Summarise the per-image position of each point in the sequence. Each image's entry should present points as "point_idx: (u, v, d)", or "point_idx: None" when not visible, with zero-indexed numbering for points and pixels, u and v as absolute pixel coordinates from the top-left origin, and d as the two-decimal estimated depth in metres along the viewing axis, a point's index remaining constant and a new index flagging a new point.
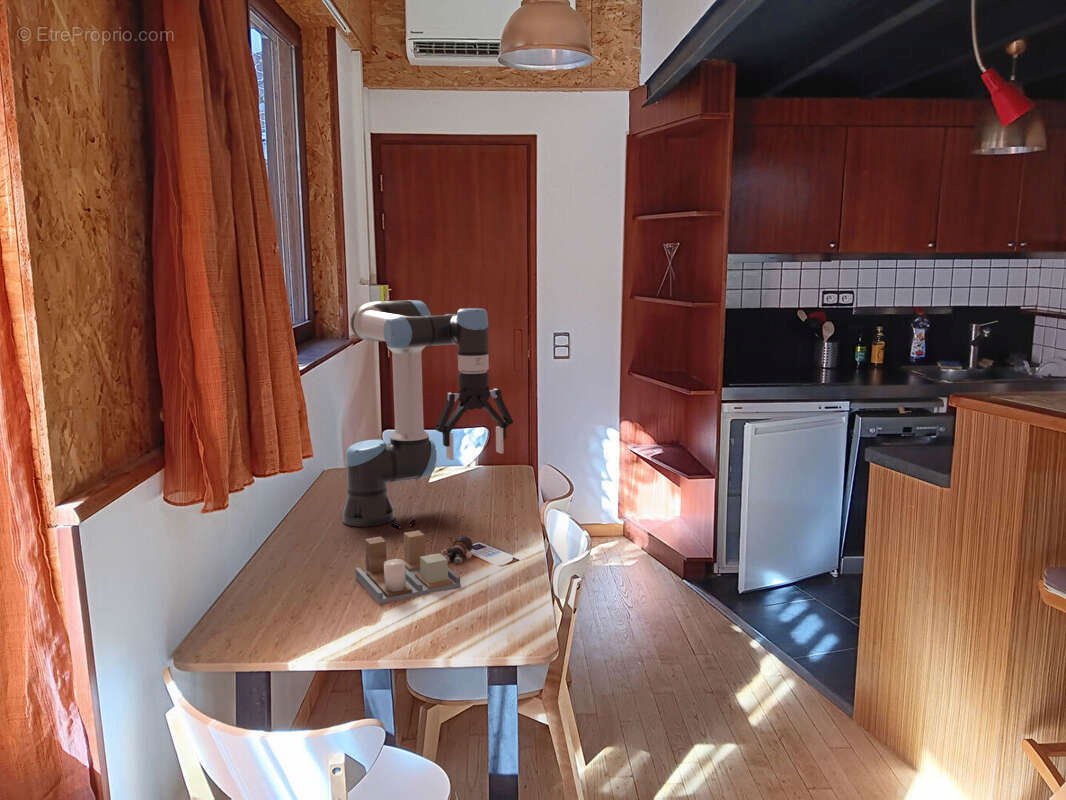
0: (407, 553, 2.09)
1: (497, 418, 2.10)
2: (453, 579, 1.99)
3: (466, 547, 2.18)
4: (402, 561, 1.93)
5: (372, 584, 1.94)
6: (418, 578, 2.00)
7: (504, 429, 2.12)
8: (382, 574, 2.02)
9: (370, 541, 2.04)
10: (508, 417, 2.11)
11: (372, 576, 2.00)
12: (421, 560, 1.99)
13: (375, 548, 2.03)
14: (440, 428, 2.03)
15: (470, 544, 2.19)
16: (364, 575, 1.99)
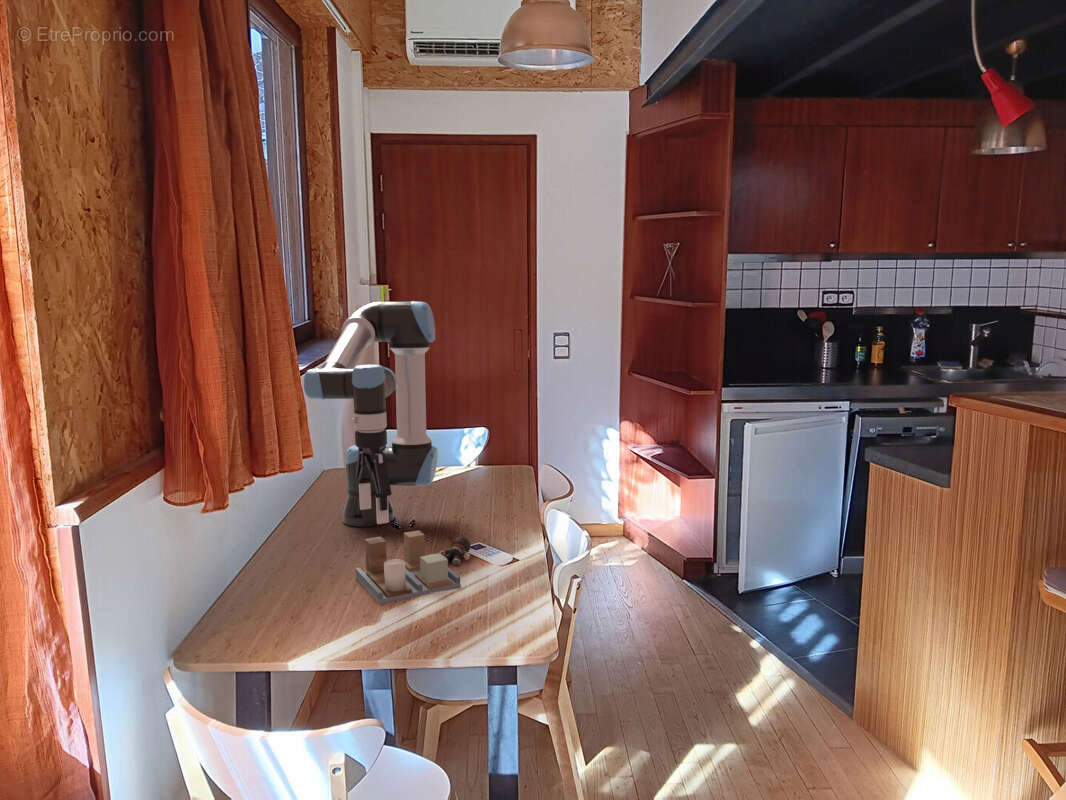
0: (407, 553, 2.09)
1: (375, 485, 1.96)
2: (453, 579, 1.99)
3: (464, 548, 2.17)
4: (402, 561, 1.93)
5: (372, 584, 1.94)
6: (418, 578, 2.00)
7: (380, 499, 1.95)
8: (382, 574, 2.02)
9: (370, 541, 2.04)
10: (379, 488, 1.94)
11: (372, 576, 2.00)
12: (421, 560, 1.99)
13: (375, 548, 2.03)
14: (356, 475, 2.10)
15: (468, 545, 2.18)
16: (364, 575, 1.99)
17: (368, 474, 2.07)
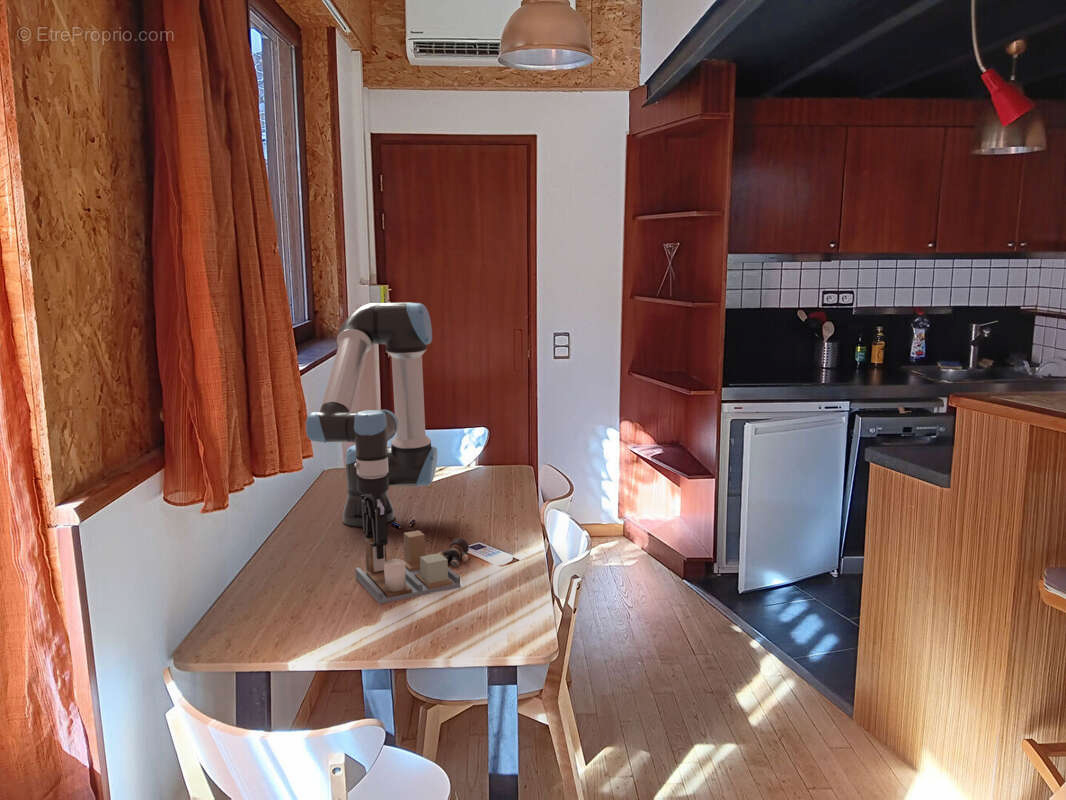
0: (407, 553, 2.09)
1: (373, 532, 2.01)
2: (453, 579, 1.99)
3: (462, 550, 2.16)
4: (402, 561, 1.93)
5: (372, 584, 1.94)
6: (418, 578, 2.00)
7: (377, 548, 2.01)
8: (382, 574, 2.02)
9: (370, 541, 2.04)
10: (376, 538, 1.99)
11: (372, 576, 2.00)
12: (421, 560, 1.99)
13: None
14: (363, 530, 2.08)
15: (466, 546, 2.17)
16: (364, 575, 1.99)
17: None
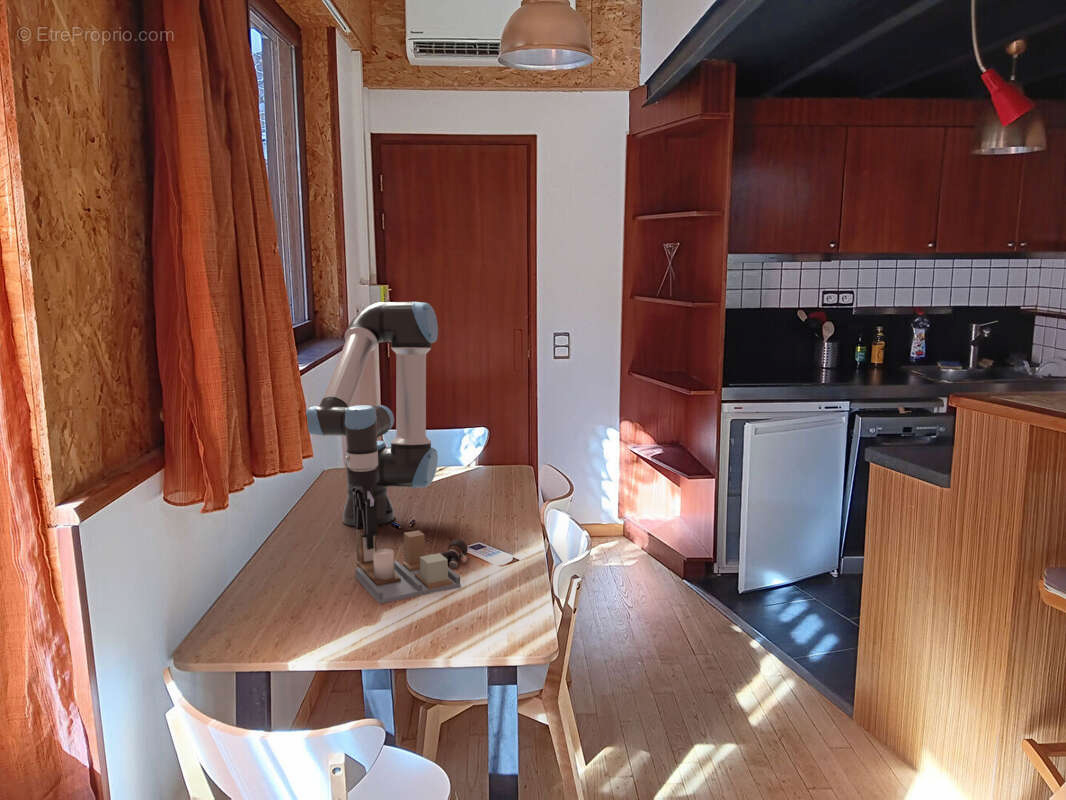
0: (407, 553, 2.09)
1: (363, 523, 2.08)
2: (453, 579, 1.99)
3: (461, 551, 2.15)
4: (391, 551, 2.00)
5: (372, 584, 1.94)
6: (418, 578, 2.00)
7: (367, 539, 2.08)
8: (372, 564, 2.08)
9: (361, 531, 2.11)
10: (366, 528, 2.06)
11: (362, 566, 2.07)
12: (421, 560, 1.99)
13: None
14: (354, 522, 2.15)
15: (465, 548, 2.16)
16: (364, 575, 1.99)
17: None
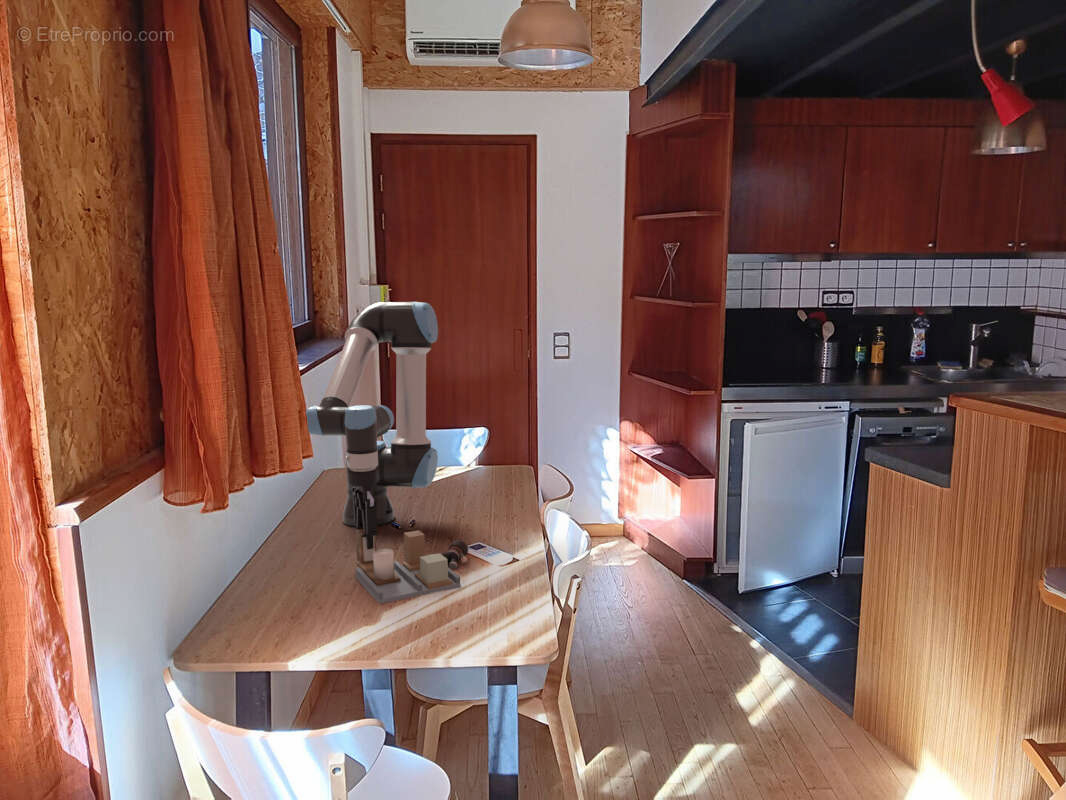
0: (407, 553, 2.09)
1: (363, 523, 2.08)
2: (453, 579, 1.99)
3: (461, 551, 2.15)
4: (391, 551, 2.00)
5: (372, 584, 1.94)
6: (418, 578, 2.00)
7: (367, 539, 2.08)
8: (372, 564, 2.08)
9: (361, 531, 2.11)
10: (366, 528, 2.06)
11: (362, 566, 2.07)
12: (421, 560, 1.99)
13: None
14: (354, 521, 2.15)
15: (465, 548, 2.16)
16: (364, 575, 1.99)
17: None
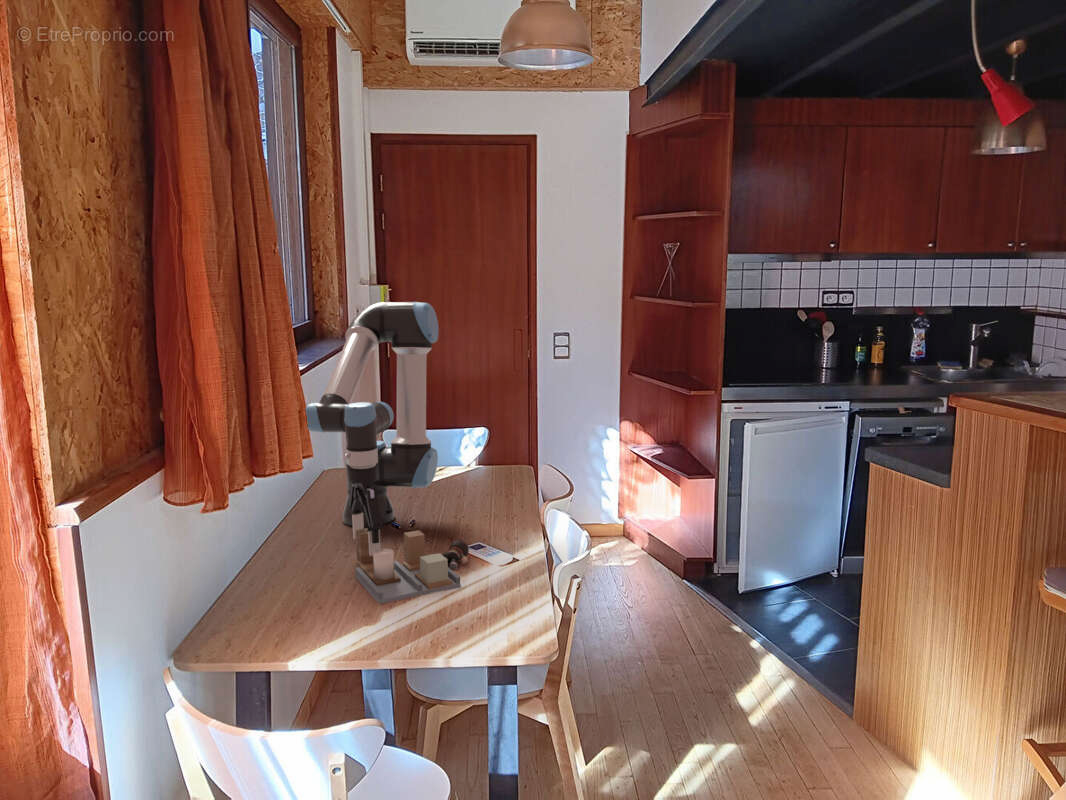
0: (407, 553, 2.09)
1: (367, 518, 2.05)
2: (453, 579, 1.99)
3: (462, 552, 2.15)
4: (391, 551, 2.00)
5: (372, 584, 1.94)
6: (418, 578, 2.00)
7: (372, 533, 2.04)
8: (372, 564, 2.08)
9: (361, 531, 2.11)
10: (371, 522, 2.03)
11: (362, 566, 2.07)
12: (421, 560, 1.99)
13: (365, 538, 2.10)
14: (349, 506, 2.19)
15: (466, 549, 2.15)
16: (364, 575, 1.99)
17: (361, 505, 2.16)
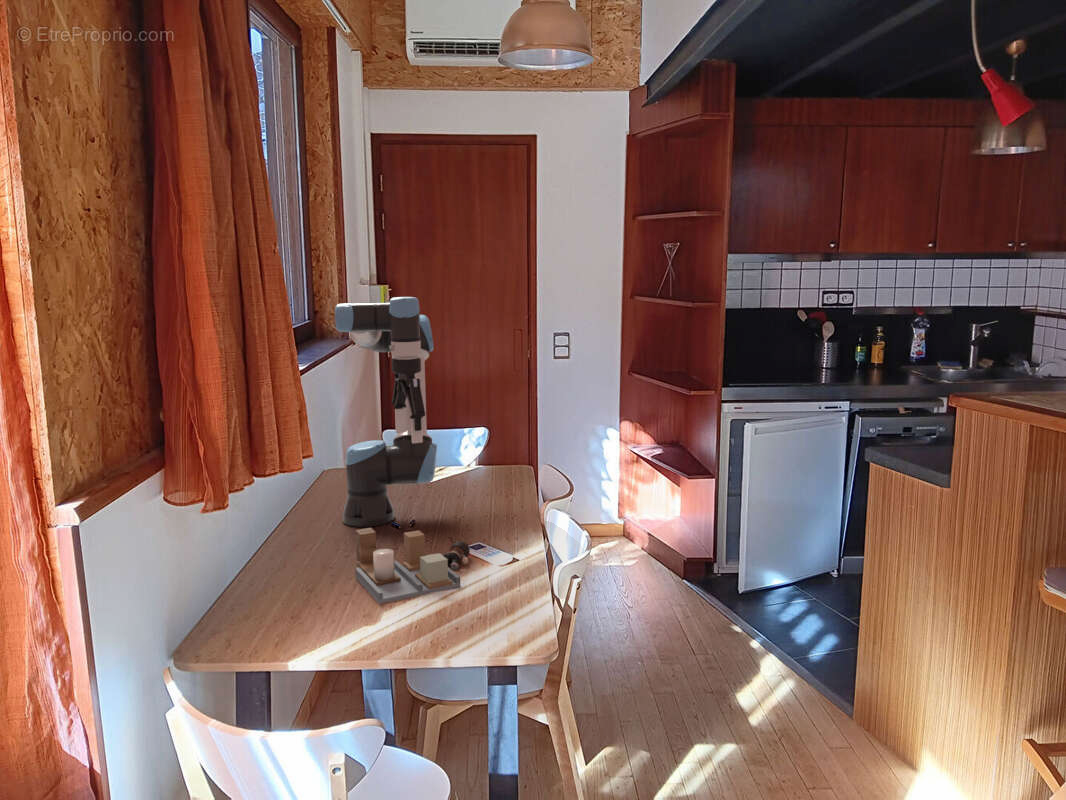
0: (407, 553, 2.09)
1: (410, 407, 2.13)
2: (453, 579, 1.99)
3: (463, 552, 2.14)
4: (391, 551, 2.00)
5: (372, 584, 1.94)
6: (418, 578, 2.00)
7: (415, 420, 2.12)
8: (372, 564, 2.08)
9: (361, 531, 2.11)
10: (414, 409, 2.10)
11: (362, 566, 2.07)
12: (421, 560, 1.99)
13: (365, 538, 2.10)
14: (392, 401, 2.27)
15: (467, 549, 2.15)
16: (364, 575, 1.99)
17: (403, 400, 2.24)
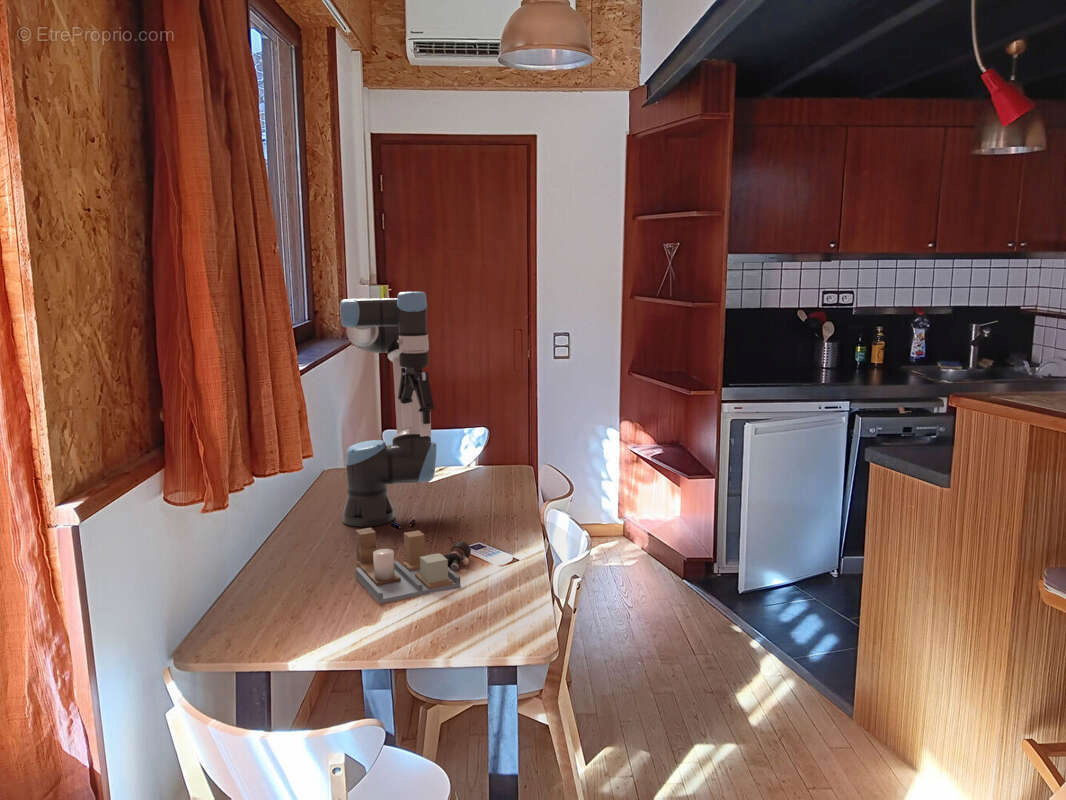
0: (407, 553, 2.09)
1: (418, 400, 2.15)
2: (453, 579, 1.99)
3: (464, 553, 2.14)
4: (391, 551, 2.00)
5: (372, 584, 1.94)
6: (418, 578, 2.00)
7: (424, 413, 2.13)
8: (372, 564, 2.08)
9: (361, 531, 2.11)
10: (423, 402, 2.12)
11: (362, 566, 2.07)
12: (421, 560, 1.99)
13: (365, 538, 2.10)
14: (398, 396, 2.28)
15: (468, 550, 2.14)
16: (364, 575, 1.99)
17: (410, 394, 2.25)
